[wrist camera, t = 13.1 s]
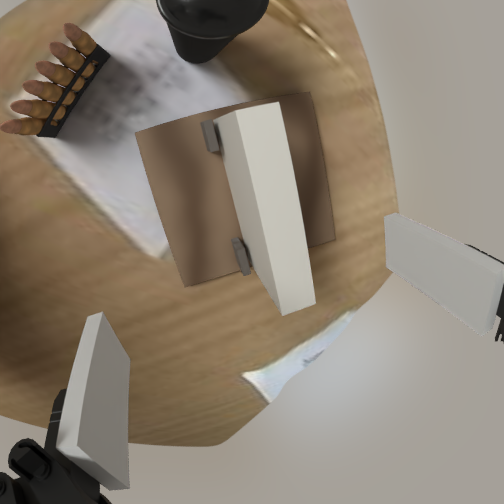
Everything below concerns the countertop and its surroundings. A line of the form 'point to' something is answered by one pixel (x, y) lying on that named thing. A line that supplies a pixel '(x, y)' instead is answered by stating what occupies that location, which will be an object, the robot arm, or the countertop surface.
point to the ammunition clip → (55, 114)
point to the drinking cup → (208, 24)
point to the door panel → (267, 202)
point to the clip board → (226, 187)
